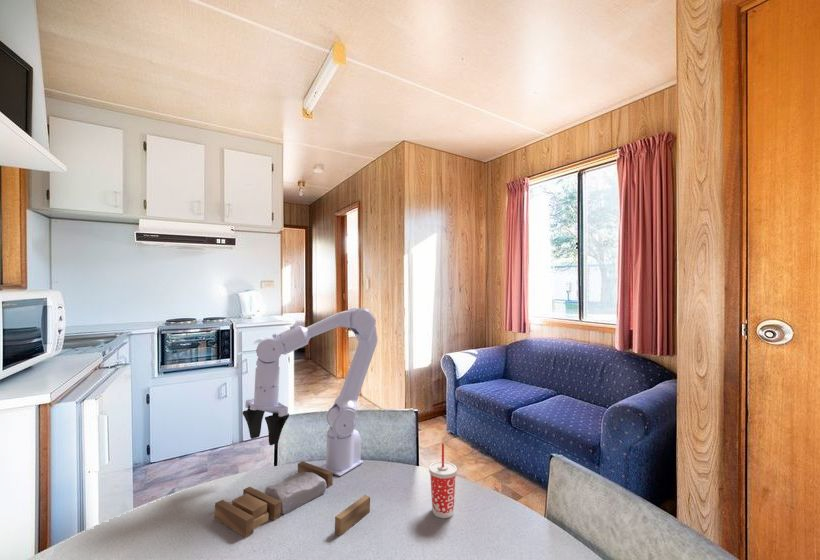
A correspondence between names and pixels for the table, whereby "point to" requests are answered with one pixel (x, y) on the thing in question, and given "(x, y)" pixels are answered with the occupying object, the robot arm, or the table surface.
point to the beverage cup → (443, 487)
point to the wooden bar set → (245, 521)
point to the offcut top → (250, 505)
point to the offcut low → (261, 520)
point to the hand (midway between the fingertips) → (264, 440)
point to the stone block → (297, 490)
